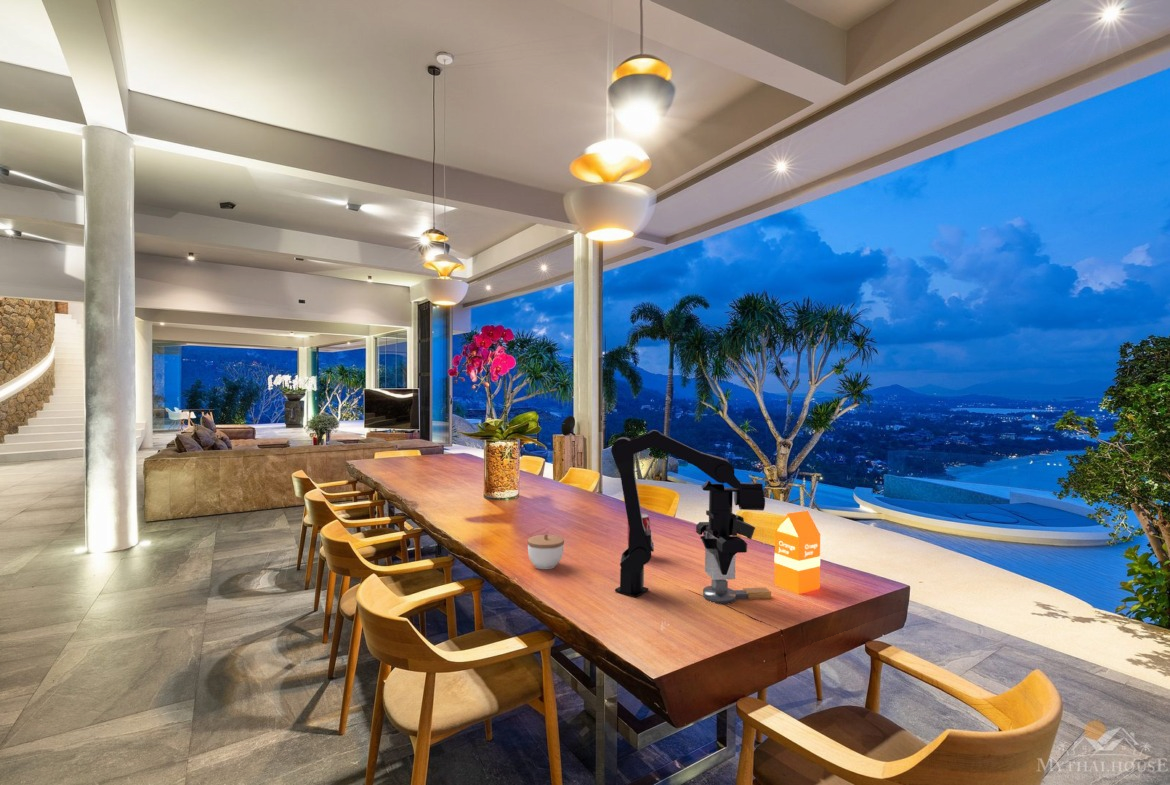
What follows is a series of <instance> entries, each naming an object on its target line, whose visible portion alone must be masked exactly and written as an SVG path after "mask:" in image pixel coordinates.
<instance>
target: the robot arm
mask: <svg viewBox="0 0 1170 785" xmlns="http://www.w3.org/2000/svg"><path fill="white" fill-rule="evenodd" d="M654 447H655V448H657V449H659V450H661V451H663V452H666V453H667V454H669V455H671V456H673V457H676V458H678V459H680V460H682V461H684V462H687V463H688V464H690V465H693V466H695V467H696V468H697V469H699V470H700V471H701V472H703V473H704V474H706V475H707V476H708V477H710V478H711V479H713V480H714V481H715V482H717V483H713V482H711V481H710V480H709V479H707V481H706V482H705V483H704V484H703V485H701V489H702V491H706V492H708V493H709V494H708V510H705V515H706V516H708V521H699V522H698V523H697V524H696V527H695V529H696V530H695V532H696V534H698V535H699V538H700V539H701V542H702V544H703V546H704V549H705V548H714V550H715V553H716V556H717V560H718V563H719V567H720V570H721V573H722V575H727V572H728V569H729V566H730V564H731V561H732V558H733V556H734V555H735V556H736V554H741V553H747V552H748V543H747V542H746V541H745V539H743V538H741V537H740V536H738V535H741V536H743V537H746V538H747V539H749V540H752V538H753V536H754V532H755V530H756V527H755V526H754V525H752V524H751V523H748V522H745V519H744V517H743V516H741V515H738V514H735V513H733V502H734V505H735V506H738V509H739V510H744V511H745V510H747V511H765V508H766V498H765V493H764V492H765V491H764V488H763V486H764V484H762V483H761V482H741V480H740V479H739V478H737V477H736V475H735V468H734V465H733V464H732V462H730V461H729V460H727V459H726V458H725V457H724V458H723V457H720V456H716V455H712V454H710V453H705V452H702V451H699V450H697V449H695V448H692V447H690V446H688V445H686V444H684V443H682V442H681V441H679V440H678V441H677V440H676V439H673V438H672V437H670V436H667V435H666V434H663V433H661V432H660V431H659V430H656V429H652V430H649V432H645V433H642V434H639V435H635V436H634V437H627V436H621V437H618V438H617V439H616V440H615V441H614V442H613V444H612V445H611V449H610V450H611V454H612V457H613V460H614V463H615V466H616V469H617V471H618V472H619V476H620V481H621V488H622V494H623V500H624V506H625V512H626V517H627V526H628V525H629V548H628V549H626V550H625V551H623V552H622V554H621V557H620V564H619V566H620V574H619V576H620V577H619V586H618V587H616V588H615V589H614V592H617V593H620V594H624V595H627V596H628V597H629V596H630V597H633V598H638V597H639V596H641V595H643V594H645V593H647V592H648V591H649V587H645V586H644V585H645V584H644V577H645V568H644V566H645V565H647V564H649V562H650V561H651V559H652V552H655V550H654V549H655V548H654V547H655V544H654V541H653V540H652V529H651V528H650V530H647V531H646V529H645V527H644V524H643V520H642V514H641V513H642V509H641V508H642V507H641V503H640V497H639V492H638V485H637V480H636V473H635V466H636V465H635V464H636V462H635V458H636V456H635V455H636V454H637V453H640V452H643V451H645V450H648V449H650V448H654ZM724 484H727V485H729V487H725V485H724ZM733 500H734V501H733Z"/></svg>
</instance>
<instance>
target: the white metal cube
mask: <svg viewBox="0 0 1170 785" xmlns="http://www.w3.org/2000/svg"><path fill="white" fill-rule="evenodd" d="M704 550H705V552H704V554H705V555H704V557H705V558H704V572H705V574H707V575H708V576H709V577H710V578H711V580H712V579H713V580H735V579H736V554H735V555H734V556H733V558H732V561H731V564H730V566H729V569H728V572H727V575H722V573H721V570H720V567H719V563H718V560H717V556H716V553H715V550H714V548H705V547H704Z"/></svg>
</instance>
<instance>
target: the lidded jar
mask: <svg viewBox="0 0 1170 785" xmlns="http://www.w3.org/2000/svg"><path fill="white" fill-rule="evenodd" d="M564 544H565V540H564V538H563V537H561V536H558V535H555V534H548V533H544V534H537V535H533V536H531V537H529V538H527V554H528V558H529V561H530V562H531V563H532V564H533V565H534V568H536V569H539V570H552V569H555V568H556V566H557V565H558V564H559V563H560V562H561V559H562V557H563V554H564Z"/></svg>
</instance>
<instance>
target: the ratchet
mask: <svg viewBox="0 0 1170 785" xmlns="http://www.w3.org/2000/svg"><path fill="white" fill-rule="evenodd" d="M728 582H729V581H728V580H727V579H725V580H713V579H712V578H711V585H708V586H705V587H704V588H703V589H702V597H703V598H705V599H704V600H706V601H707V602H710V601H711V602H710V603H713V602H715V603H714V604H718V603H719V604H720V603H721V604H720V605H728V603H730V604H734V603H735V602H736V601H737V600H745V599H746V600H761V599H772V591H770V589H768V588H767V587H743V589H739V590H737V589H732V588H730V587H729V586H728V584H729V583H728ZM733 602H734V603H733ZM719 604H718V605H719Z"/></svg>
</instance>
